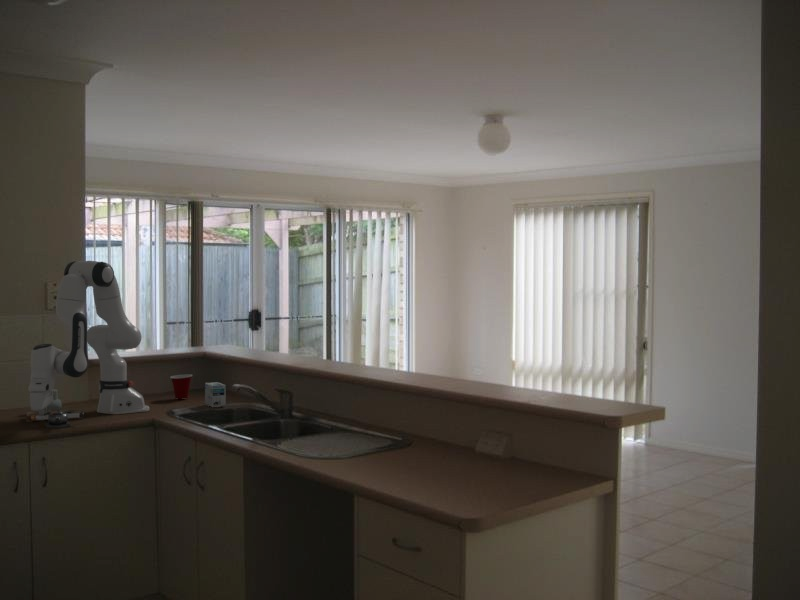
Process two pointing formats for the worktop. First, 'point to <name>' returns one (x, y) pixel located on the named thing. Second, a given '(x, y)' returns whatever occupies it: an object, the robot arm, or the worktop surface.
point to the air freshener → (55, 402)
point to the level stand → (29, 414)
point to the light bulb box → (215, 394)
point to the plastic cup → (181, 385)
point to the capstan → (57, 417)
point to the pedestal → (58, 425)
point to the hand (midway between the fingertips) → (42, 418)
